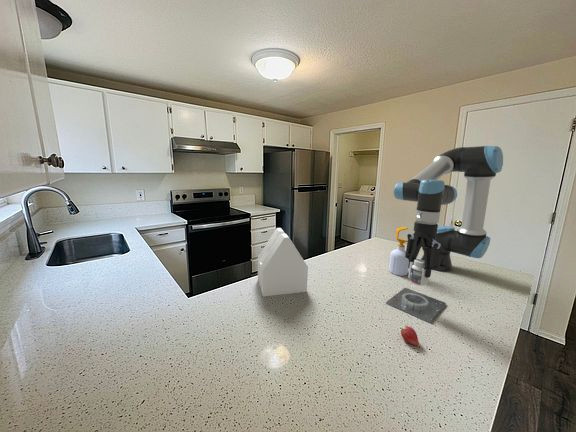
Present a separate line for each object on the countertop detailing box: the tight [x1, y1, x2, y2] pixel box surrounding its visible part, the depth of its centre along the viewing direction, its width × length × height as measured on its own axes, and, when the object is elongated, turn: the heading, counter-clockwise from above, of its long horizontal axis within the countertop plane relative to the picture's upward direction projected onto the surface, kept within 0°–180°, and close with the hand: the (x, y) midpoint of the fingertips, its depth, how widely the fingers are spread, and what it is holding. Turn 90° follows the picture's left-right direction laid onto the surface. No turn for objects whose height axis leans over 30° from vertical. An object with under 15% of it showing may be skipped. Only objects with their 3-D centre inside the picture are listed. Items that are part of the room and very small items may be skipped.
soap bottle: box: [388, 226, 409, 277], centre depth 121 cm, size 9×9×25 cm
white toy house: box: [257, 227, 309, 297], centre depth 104 cm, size 19×15×25 cm
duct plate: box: [385, 287, 447, 324], centre depth 94 cm, size 18×16×3 cm
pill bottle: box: [409, 258, 425, 286], centre depth 90 cm, size 5×5×9 cm
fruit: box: [400, 323, 420, 347], centre depth 73 cm, size 4×6×5 cm
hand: (417, 280), depth 91 cm, fingers closed on pill bottle, 5 cm apart
